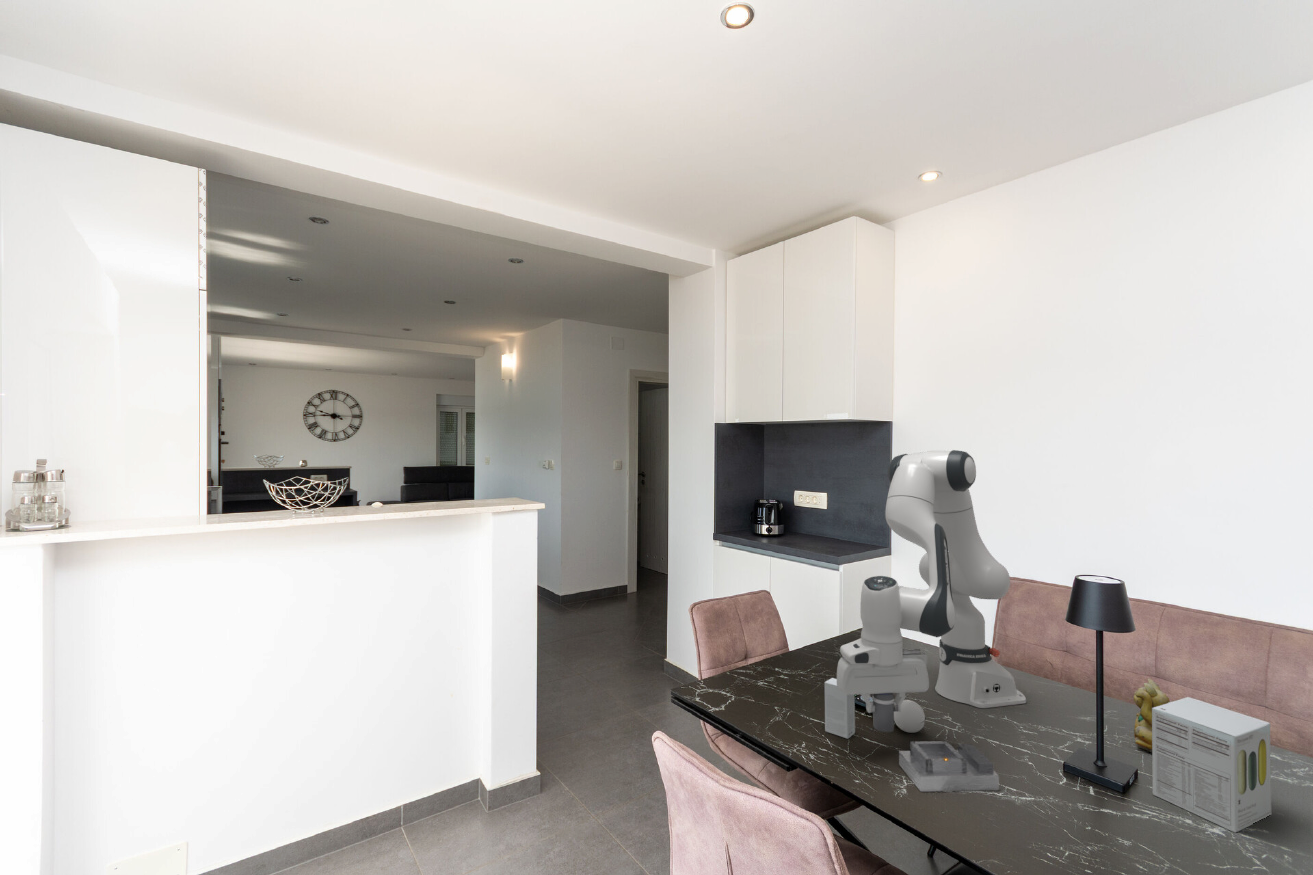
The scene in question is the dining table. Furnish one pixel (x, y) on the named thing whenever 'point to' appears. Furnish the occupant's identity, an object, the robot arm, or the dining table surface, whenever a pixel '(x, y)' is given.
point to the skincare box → (839, 710)
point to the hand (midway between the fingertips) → (883, 711)
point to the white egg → (910, 717)
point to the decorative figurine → (1147, 712)
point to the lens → (883, 712)
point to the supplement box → (1212, 762)
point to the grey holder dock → (948, 767)
